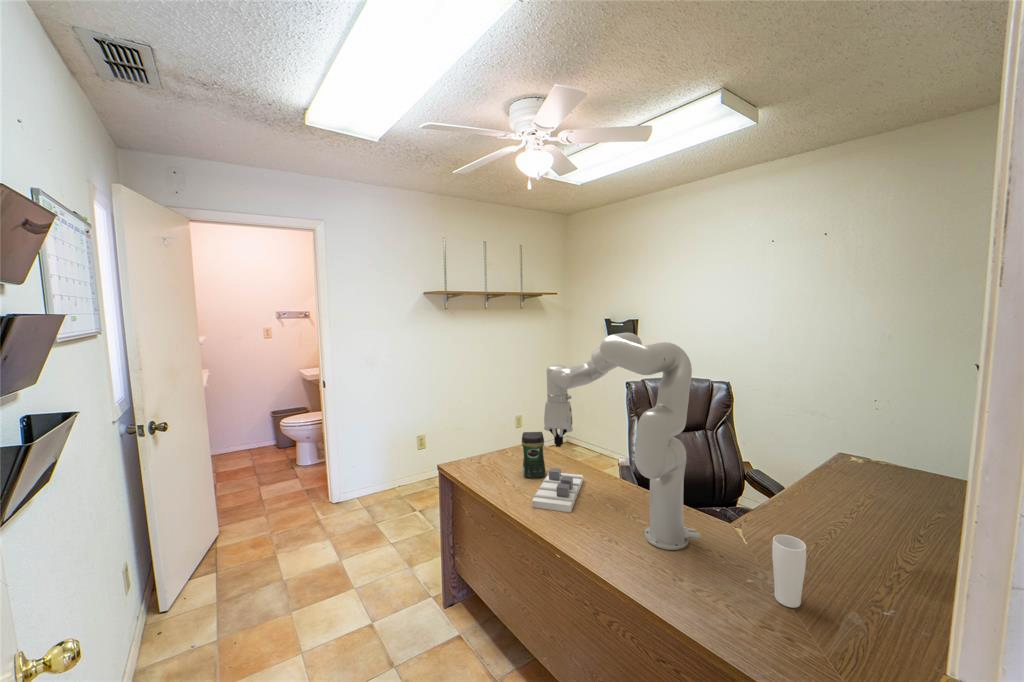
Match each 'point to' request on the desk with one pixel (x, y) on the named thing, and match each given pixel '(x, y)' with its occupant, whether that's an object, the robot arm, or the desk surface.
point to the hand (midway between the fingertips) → (558, 445)
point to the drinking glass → (788, 569)
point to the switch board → (548, 494)
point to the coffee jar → (533, 454)
